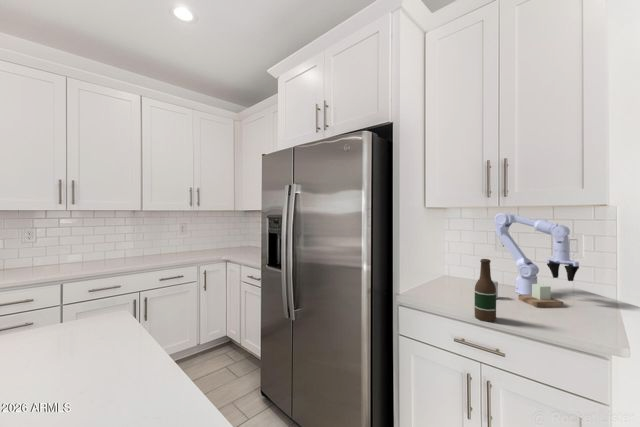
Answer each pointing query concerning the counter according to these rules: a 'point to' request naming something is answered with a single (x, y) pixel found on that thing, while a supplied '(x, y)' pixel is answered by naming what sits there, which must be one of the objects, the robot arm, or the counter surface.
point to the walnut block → (540, 301)
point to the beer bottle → (485, 294)
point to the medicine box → (496, 287)
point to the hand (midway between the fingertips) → (562, 279)
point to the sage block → (541, 291)
